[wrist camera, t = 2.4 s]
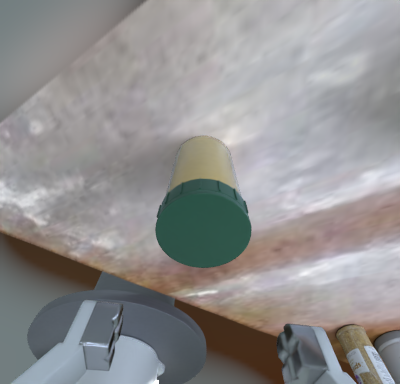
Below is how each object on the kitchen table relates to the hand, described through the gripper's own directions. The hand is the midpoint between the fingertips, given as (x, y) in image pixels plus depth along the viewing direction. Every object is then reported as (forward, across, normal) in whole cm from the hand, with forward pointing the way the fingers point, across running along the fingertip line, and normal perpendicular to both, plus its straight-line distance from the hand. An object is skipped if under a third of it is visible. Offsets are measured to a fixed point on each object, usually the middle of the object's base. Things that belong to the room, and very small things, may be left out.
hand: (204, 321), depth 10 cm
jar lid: (+6, 0, 0) cm, 6 cm away
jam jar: (+17, 0, 0) cm, 17 cm away
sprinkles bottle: (+17, +29, -26) cm, 42 cm away
